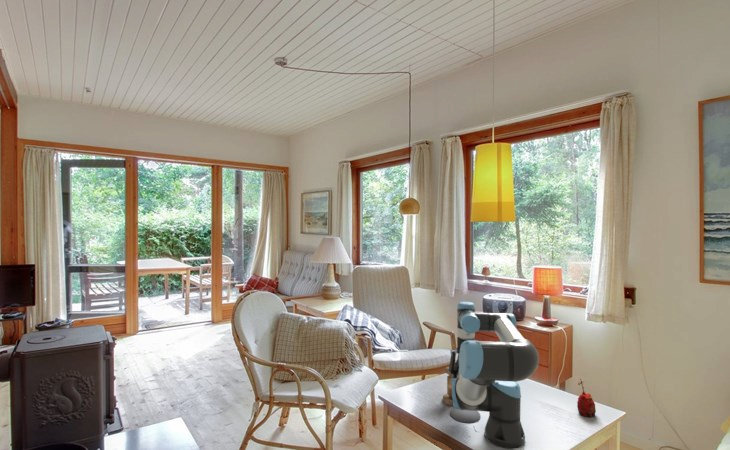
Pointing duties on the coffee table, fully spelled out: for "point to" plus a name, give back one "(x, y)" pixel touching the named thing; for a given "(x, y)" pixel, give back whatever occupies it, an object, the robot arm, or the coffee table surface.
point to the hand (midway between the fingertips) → (465, 388)
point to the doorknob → (448, 389)
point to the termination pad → (465, 415)
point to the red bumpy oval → (586, 404)
